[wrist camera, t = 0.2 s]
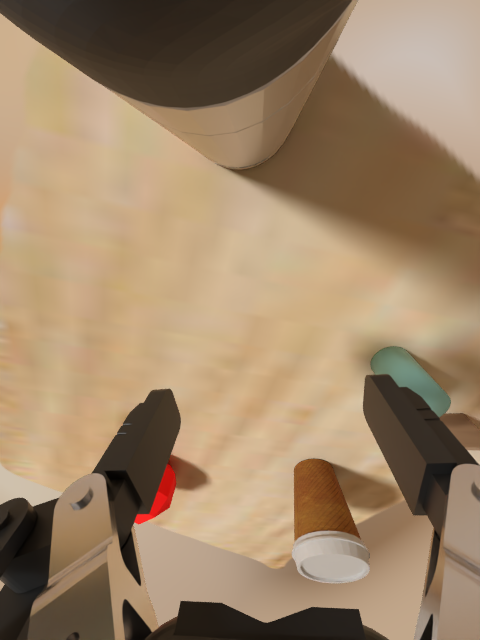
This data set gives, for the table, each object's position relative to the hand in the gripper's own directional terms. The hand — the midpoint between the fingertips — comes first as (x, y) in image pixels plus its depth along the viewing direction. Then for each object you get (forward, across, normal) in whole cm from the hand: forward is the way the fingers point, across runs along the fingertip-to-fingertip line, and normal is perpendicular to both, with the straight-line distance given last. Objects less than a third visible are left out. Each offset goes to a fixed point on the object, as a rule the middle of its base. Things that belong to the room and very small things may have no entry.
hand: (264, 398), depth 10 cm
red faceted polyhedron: (+19, +22, +31) cm, 42 cm away
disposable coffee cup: (+19, -5, +33) cm, 39 cm away
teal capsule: (+18, -14, +12) cm, 26 cm away
